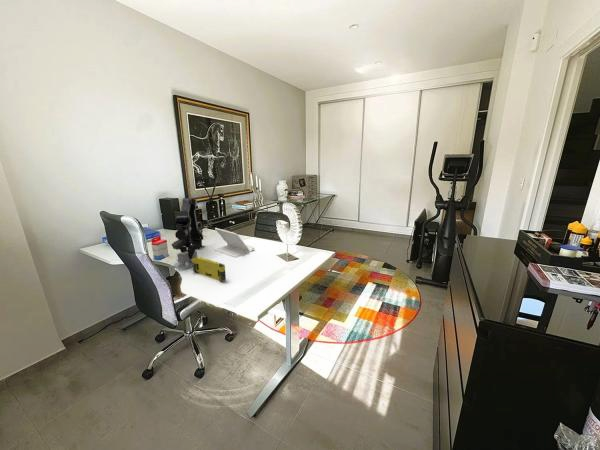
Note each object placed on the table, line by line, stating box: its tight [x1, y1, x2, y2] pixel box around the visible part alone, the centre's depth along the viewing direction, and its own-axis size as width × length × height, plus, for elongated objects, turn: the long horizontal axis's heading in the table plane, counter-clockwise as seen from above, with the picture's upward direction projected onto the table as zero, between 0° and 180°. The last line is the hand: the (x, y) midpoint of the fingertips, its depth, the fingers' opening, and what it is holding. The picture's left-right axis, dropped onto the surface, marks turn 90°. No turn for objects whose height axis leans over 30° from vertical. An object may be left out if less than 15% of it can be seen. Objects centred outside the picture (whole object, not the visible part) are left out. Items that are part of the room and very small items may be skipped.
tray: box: [171, 254, 199, 271], centre depth 156 cm, size 16×11×4 cm
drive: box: [176, 250, 198, 263], centre depth 155 cm, size 10×6×5 cm, turn 150°
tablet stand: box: [214, 227, 255, 258], centre depth 180 cm, size 18×25×17 cm
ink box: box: [150, 235, 170, 261], centre depth 165 cm, size 8×5×15 cm, turn 168°
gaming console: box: [192, 255, 227, 282], centre depth 138 cm, size 26×4×10 cm, turn 60°
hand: (187, 258), depth 156 cm, fingers closed on drive, 5 cm apart
